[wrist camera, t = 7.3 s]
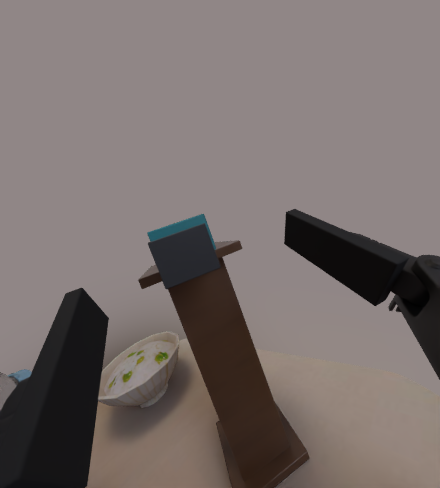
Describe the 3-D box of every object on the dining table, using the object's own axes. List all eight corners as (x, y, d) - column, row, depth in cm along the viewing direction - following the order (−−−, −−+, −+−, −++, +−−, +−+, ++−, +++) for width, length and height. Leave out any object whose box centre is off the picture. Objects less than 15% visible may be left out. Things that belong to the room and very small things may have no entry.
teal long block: (168, 261, 26) (158, 235, 25) (207, 246, 27) (198, 221, 26) (135, 302, 9) (103, 223, 8) (246, 257, 10) (222, 186, 9)
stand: (214, 426, 30) (150, 266, 28) (269, 390, 33) (215, 242, 30) (238, 526, 19) (137, 279, 17) (316, 460, 22) (239, 240, 20)
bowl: (179, 349, 55) (168, 320, 54) (205, 387, 38) (189, 345, 37) (110, 395, 46) (95, 361, 45) (104, 472, 29) (79, 420, 28)
